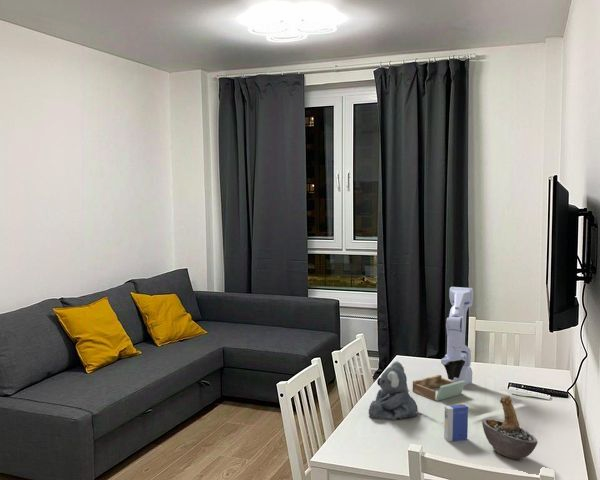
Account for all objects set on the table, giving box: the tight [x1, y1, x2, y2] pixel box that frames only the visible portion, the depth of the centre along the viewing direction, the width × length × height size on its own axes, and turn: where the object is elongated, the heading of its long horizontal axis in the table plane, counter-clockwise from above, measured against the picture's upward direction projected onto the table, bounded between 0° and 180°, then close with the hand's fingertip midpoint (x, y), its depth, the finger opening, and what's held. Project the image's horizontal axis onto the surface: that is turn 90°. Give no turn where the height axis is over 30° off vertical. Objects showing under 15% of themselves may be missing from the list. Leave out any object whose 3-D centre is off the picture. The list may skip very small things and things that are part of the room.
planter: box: [481, 394, 539, 461], centre depth 195 cm, size 15×17×20 cm
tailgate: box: [435, 380, 466, 401], centre depth 245 cm, size 14×1×7 cm, turn 123°
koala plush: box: [368, 360, 419, 421], centre depth 231 cm, size 17×18×20 cm
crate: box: [412, 374, 454, 401], centre depth 252 cm, size 16×12×6 cm
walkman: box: [443, 403, 469, 442], centre depth 208 cm, size 8×3×12 cm, turn 105°
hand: (453, 378), depth 244 cm, fingers open, 3 cm apart
